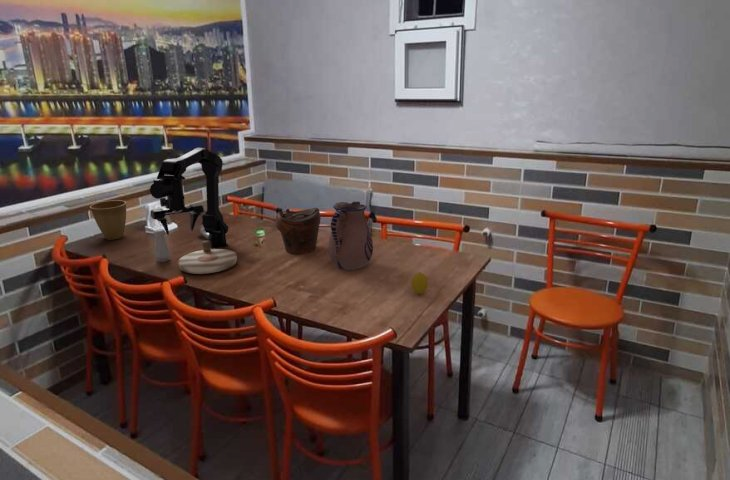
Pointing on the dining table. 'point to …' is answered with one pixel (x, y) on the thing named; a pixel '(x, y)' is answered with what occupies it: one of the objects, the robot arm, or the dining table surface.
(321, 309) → the dining table surface
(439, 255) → the dining table surface
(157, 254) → the salt shaker
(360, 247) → the ceramic pitcher
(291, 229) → the brown tapered round container
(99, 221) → the plant pot
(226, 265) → the lazy susan
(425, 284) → the lemon
